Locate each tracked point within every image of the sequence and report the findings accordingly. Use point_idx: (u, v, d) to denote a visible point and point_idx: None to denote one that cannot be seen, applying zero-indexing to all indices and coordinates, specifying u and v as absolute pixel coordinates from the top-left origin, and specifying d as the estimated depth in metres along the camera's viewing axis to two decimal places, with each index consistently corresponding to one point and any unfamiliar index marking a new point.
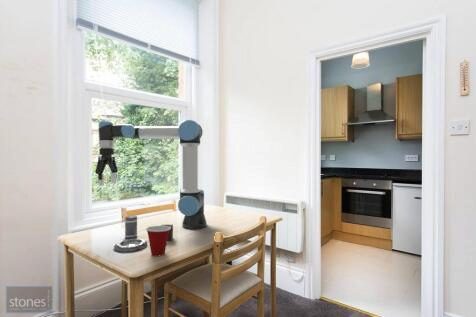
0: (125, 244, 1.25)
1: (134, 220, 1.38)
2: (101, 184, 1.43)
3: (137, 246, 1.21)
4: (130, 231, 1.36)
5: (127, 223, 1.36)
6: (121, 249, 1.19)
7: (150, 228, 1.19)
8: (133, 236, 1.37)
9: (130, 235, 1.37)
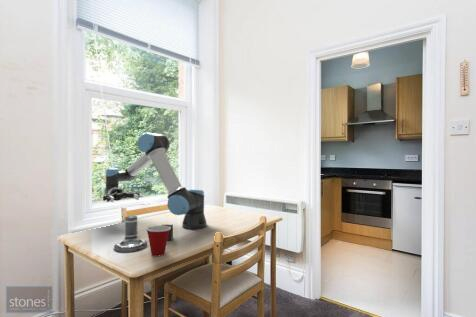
0: (125, 244, 1.25)
1: (134, 220, 1.38)
2: (111, 199, 1.43)
3: (137, 246, 1.21)
4: (130, 231, 1.36)
5: (127, 223, 1.36)
6: (121, 249, 1.19)
7: (150, 228, 1.19)
8: (133, 236, 1.37)
9: (130, 235, 1.37)
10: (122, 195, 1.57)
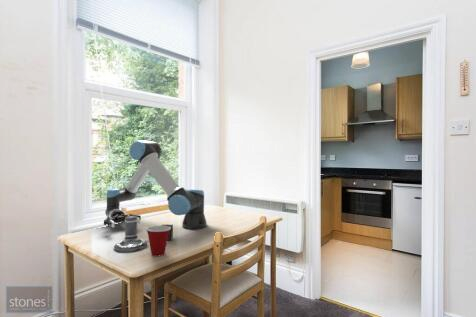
0: (125, 244, 1.25)
1: (134, 220, 1.38)
2: (112, 224, 1.40)
3: (137, 246, 1.21)
4: (129, 231, 1.36)
5: (127, 223, 1.36)
6: (121, 249, 1.19)
7: (150, 228, 1.19)
8: (133, 236, 1.37)
9: (130, 235, 1.37)
10: (123, 218, 1.54)
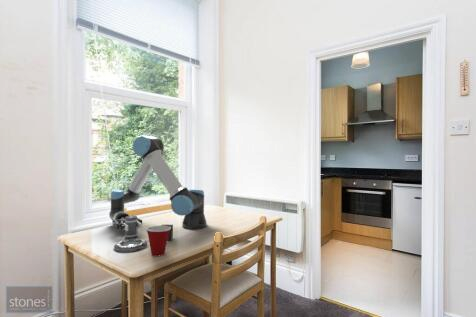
0: (125, 244, 1.25)
1: (134, 220, 1.38)
2: (126, 227, 1.34)
3: (137, 246, 1.21)
4: (130, 231, 1.36)
5: (127, 223, 1.36)
6: (121, 249, 1.19)
7: (150, 228, 1.19)
8: (133, 236, 1.37)
9: (130, 235, 1.37)
10: None
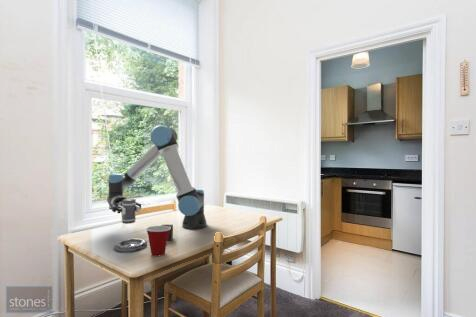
0: (125, 244, 1.25)
1: (132, 203, 1.26)
2: (123, 210, 1.22)
3: (137, 246, 1.21)
4: (127, 215, 1.25)
5: (124, 206, 1.25)
6: (121, 249, 1.19)
7: (150, 228, 1.19)
8: (131, 220, 1.26)
9: (128, 219, 1.25)
10: None
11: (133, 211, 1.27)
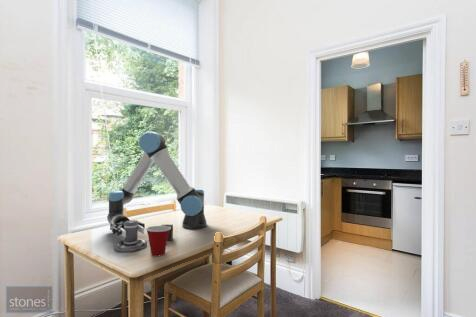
0: None
1: (134, 225, 1.24)
2: (123, 233, 1.19)
3: (137, 246, 1.21)
4: (129, 237, 1.22)
5: (127, 229, 1.22)
6: (121, 249, 1.19)
7: (150, 228, 1.19)
8: (133, 243, 1.23)
9: (130, 242, 1.23)
10: None
11: (135, 233, 1.24)
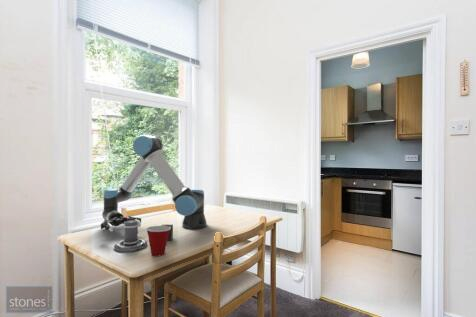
0: None
1: (134, 225, 1.24)
2: (110, 227, 1.27)
3: (137, 246, 1.21)
4: (129, 237, 1.22)
5: (127, 229, 1.22)
6: (121, 249, 1.19)
7: (150, 228, 1.19)
8: (133, 243, 1.23)
9: (130, 242, 1.23)
10: (122, 221, 1.41)
11: (135, 233, 1.24)
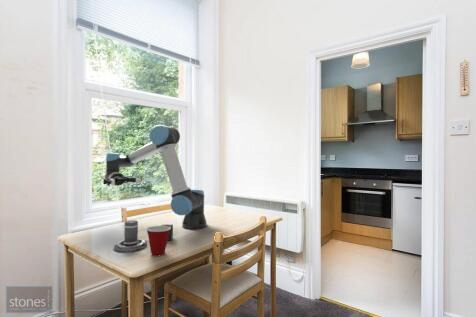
0: None
1: (134, 225, 1.24)
2: (112, 182, 1.35)
3: (137, 246, 1.21)
4: (129, 238, 1.22)
5: (127, 229, 1.22)
6: (121, 249, 1.19)
7: (150, 228, 1.19)
8: (134, 243, 1.23)
9: (130, 242, 1.23)
10: (123, 179, 1.49)
11: (135, 233, 1.24)
